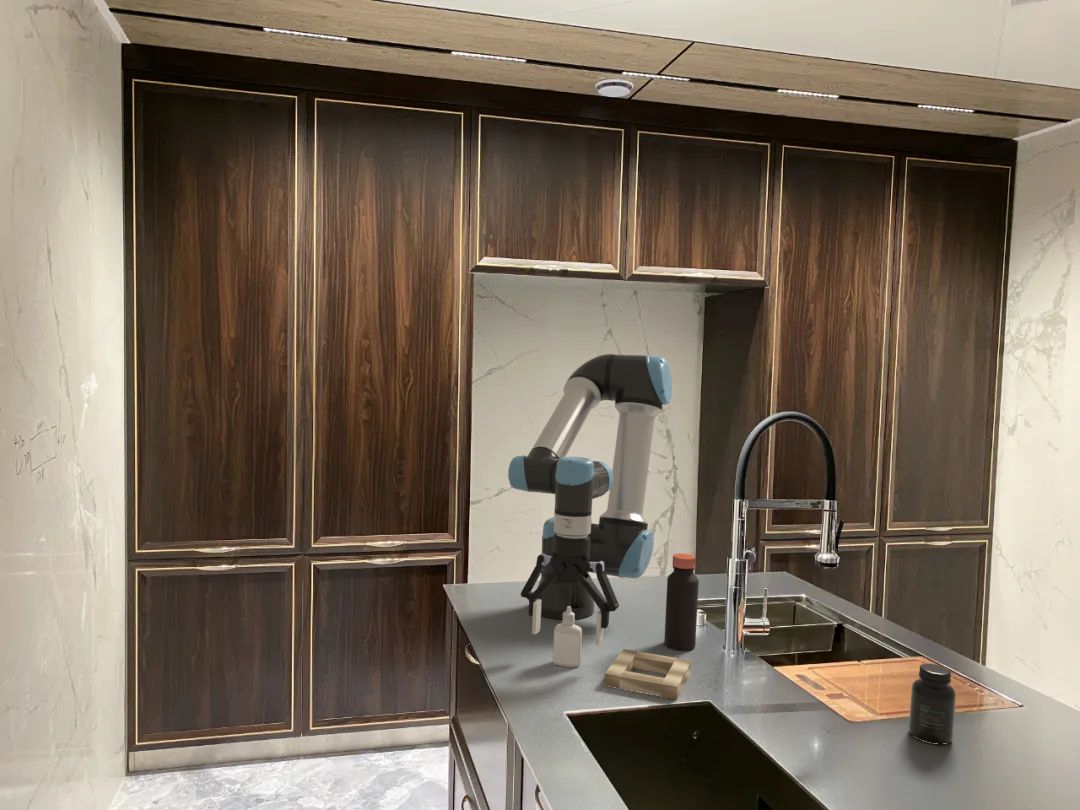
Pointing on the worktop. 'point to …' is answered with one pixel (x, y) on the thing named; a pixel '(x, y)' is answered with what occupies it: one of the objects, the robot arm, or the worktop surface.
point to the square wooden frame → (664, 687)
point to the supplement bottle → (932, 705)
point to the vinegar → (681, 604)
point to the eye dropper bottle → (567, 641)
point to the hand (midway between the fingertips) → (567, 637)
